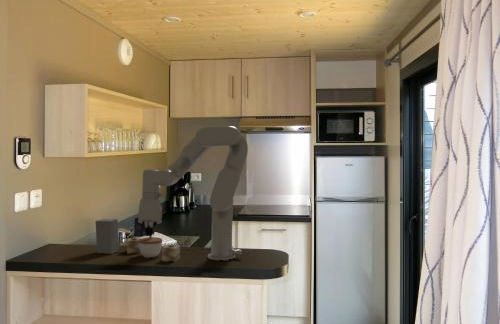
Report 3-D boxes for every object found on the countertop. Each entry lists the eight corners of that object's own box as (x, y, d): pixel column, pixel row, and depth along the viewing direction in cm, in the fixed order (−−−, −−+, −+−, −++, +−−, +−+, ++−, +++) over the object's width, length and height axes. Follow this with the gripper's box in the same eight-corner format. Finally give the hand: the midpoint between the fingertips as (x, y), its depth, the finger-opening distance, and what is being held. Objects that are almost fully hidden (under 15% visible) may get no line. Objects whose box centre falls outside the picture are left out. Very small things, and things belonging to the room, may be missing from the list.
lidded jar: (150, 252, 197) (150, 232, 197) (166, 255, 192) (167, 235, 192) (133, 256, 188) (133, 236, 188) (150, 260, 182) (150, 239, 182)
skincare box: (119, 251, 198) (119, 218, 198) (110, 254, 191) (110, 220, 191) (103, 250, 200) (104, 217, 200) (94, 253, 193) (95, 219, 193)
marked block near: (179, 258, 186) (180, 245, 186) (174, 262, 180) (175, 247, 180) (167, 258, 187) (167, 244, 187) (162, 261, 181) (162, 247, 181)
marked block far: (140, 250, 202) (140, 237, 202) (140, 252, 196) (140, 240, 196) (127, 250, 200) (128, 237, 200) (127, 253, 194) (127, 240, 194)
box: (141, 236, 235) (141, 218, 235) (133, 235, 238) (133, 217, 238) (155, 234, 244) (155, 216, 244) (147, 232, 247) (147, 215, 247)
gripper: (168, 196, 193) (167, 235, 193) (136, 194, 194) (135, 233, 194) (164, 197, 186) (163, 238, 186) (131, 196, 186) (130, 236, 186)
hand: (149, 235), depth 190 cm, fingers closed
